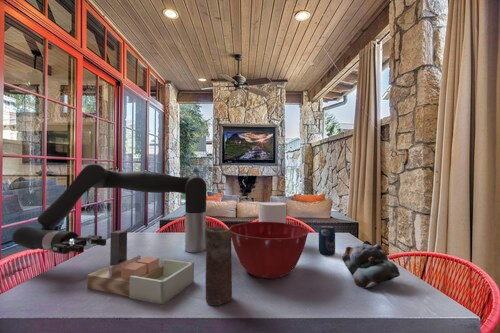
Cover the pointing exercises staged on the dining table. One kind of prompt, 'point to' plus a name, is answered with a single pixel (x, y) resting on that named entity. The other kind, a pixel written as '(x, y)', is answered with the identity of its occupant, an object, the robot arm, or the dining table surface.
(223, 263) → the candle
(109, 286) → the curved wooden platform
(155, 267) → the tile
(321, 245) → the soda can
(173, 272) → the tray
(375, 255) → the lucky cat figurine
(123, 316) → the dining table surface
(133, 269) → the tile
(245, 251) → the mixing bowl
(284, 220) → the canister
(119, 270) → the dark piece
